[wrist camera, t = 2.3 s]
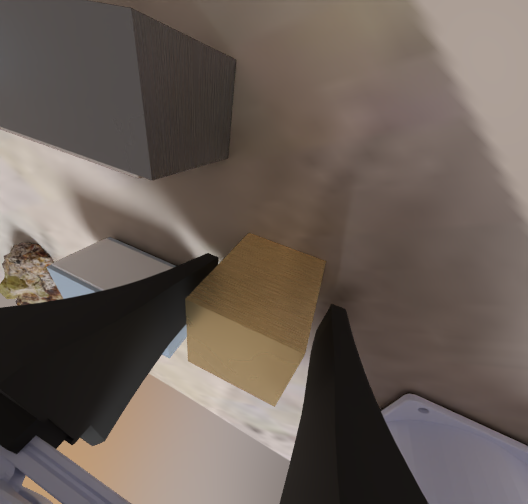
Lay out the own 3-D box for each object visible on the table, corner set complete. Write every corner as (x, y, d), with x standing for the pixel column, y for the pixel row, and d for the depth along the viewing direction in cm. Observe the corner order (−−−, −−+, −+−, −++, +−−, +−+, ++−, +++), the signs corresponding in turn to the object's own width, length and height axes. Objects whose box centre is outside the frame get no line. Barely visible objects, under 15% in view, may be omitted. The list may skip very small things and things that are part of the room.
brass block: (326, 260, 10) (304, 354, 6) (301, 313, 12) (274, 406, 8) (249, 232, 11) (185, 298, 7) (239, 287, 13) (188, 361, 9)
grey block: (236, 59, 7) (130, 7, 4) (227, 163, 9) (152, 187, 6) (45, 20, 9) (-142, -39, 6) (72, 115, 11) (-54, 113, 8)
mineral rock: (60, 332, 25) (-21, 303, 23) (88, 302, 28) (19, 274, 26) (62, 288, 19) (-49, 242, 17) (97, 256, 22) (8, 214, 20)
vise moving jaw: (209, 277, 13) (158, 331, 10) (206, 330, 16) (167, 383, 13) (109, 234, 15) (35, 268, 11) (124, 290, 18) (71, 328, 15)
